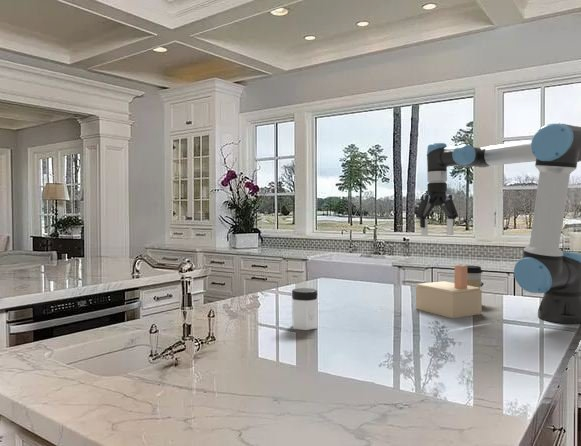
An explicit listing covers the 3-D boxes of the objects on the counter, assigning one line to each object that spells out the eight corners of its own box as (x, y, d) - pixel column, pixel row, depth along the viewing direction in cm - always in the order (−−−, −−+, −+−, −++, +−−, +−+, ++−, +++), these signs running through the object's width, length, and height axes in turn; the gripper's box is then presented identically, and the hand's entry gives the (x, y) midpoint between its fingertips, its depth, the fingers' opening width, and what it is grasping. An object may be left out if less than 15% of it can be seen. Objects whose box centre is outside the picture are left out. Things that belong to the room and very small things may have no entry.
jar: (300, 331, 152) (300, 293, 152) (286, 326, 159) (286, 289, 159) (323, 327, 157) (323, 290, 157) (308, 322, 164) (308, 287, 164)
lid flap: (480, 290, 174) (480, 265, 173) (452, 293, 167) (452, 267, 167) (443, 283, 189) (443, 260, 189) (416, 286, 183) (417, 262, 182)
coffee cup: (486, 306, 189) (486, 268, 188) (461, 306, 189) (461, 268, 188) (477, 302, 198) (477, 265, 198) (453, 302, 198) (454, 265, 198)
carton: (481, 315, 174) (481, 290, 173) (452, 319, 167) (452, 293, 167) (443, 306, 190) (443, 283, 189) (416, 310, 183) (416, 286, 183)
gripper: (453, 183, 205) (453, 234, 206) (406, 182, 194) (406, 236, 194) (467, 182, 198) (467, 234, 199) (419, 181, 187) (419, 236, 188)
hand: (437, 235), depth 197 cm, fingers open, 13 cm apart
